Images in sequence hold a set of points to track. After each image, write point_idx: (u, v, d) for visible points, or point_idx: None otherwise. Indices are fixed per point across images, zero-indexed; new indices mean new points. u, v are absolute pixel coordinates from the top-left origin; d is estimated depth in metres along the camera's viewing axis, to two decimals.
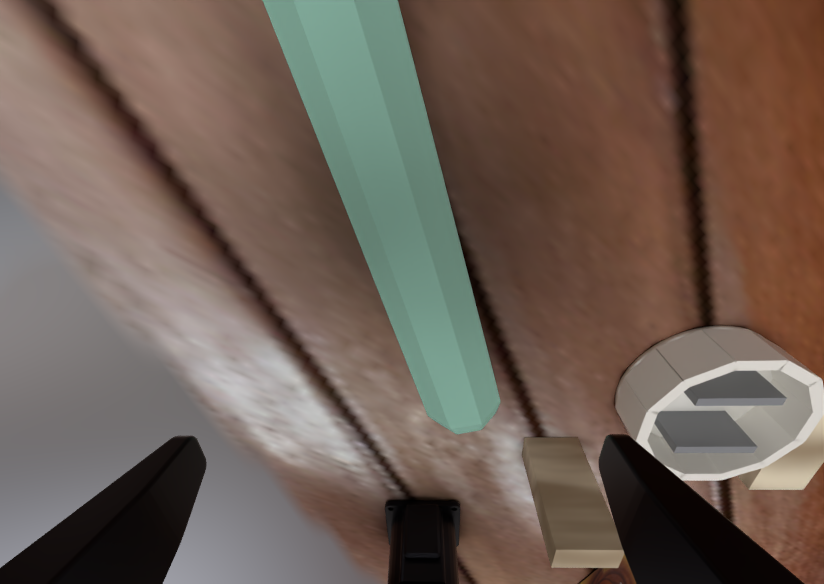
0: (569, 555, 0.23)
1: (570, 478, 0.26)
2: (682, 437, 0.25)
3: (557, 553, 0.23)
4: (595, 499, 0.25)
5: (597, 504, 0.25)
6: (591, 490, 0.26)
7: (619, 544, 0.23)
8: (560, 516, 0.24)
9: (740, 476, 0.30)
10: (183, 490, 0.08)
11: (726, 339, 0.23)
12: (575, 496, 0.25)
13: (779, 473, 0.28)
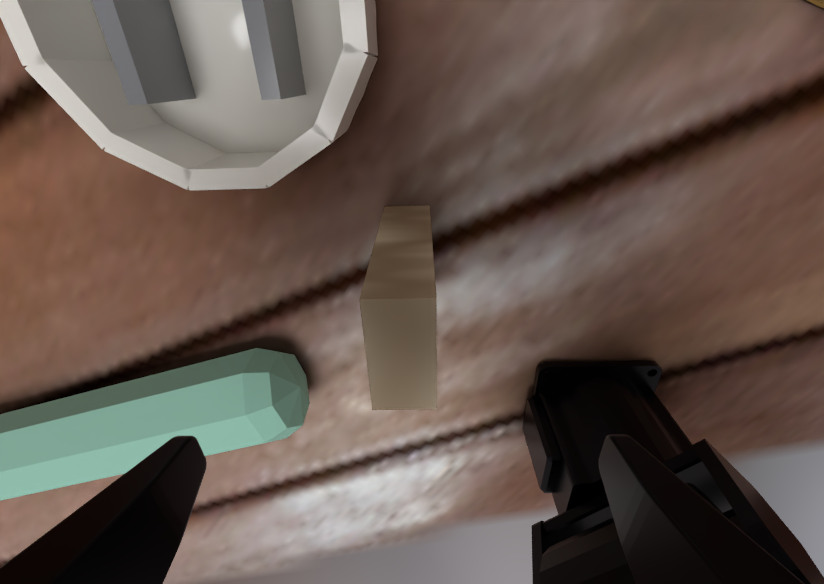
0: (391, 389, 0.12)
1: None
2: None
3: (386, 405, 0.12)
4: None
5: None
6: None
7: None
8: None
9: None
10: (183, 490, 0.08)
11: None
12: None
13: None
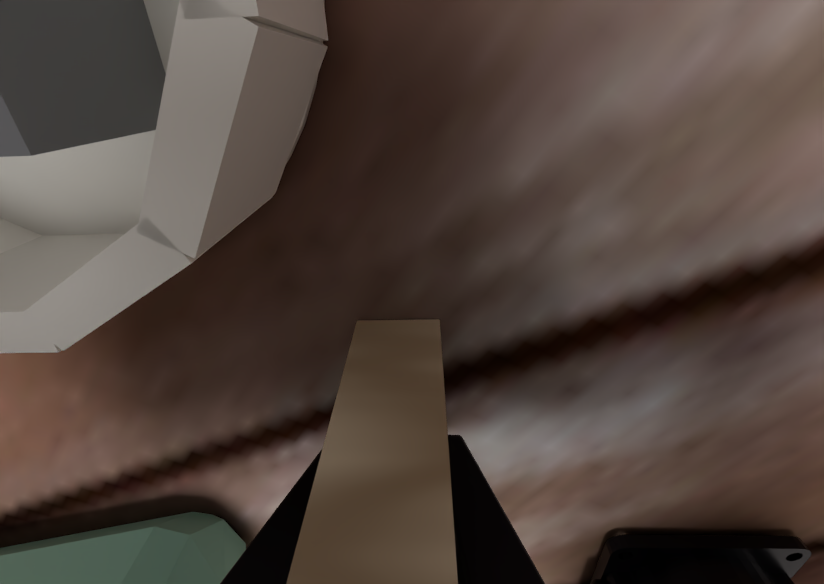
0: None
1: None
2: None
3: None
4: None
5: None
6: None
7: None
8: None
9: None
10: None
11: None
12: None
13: None
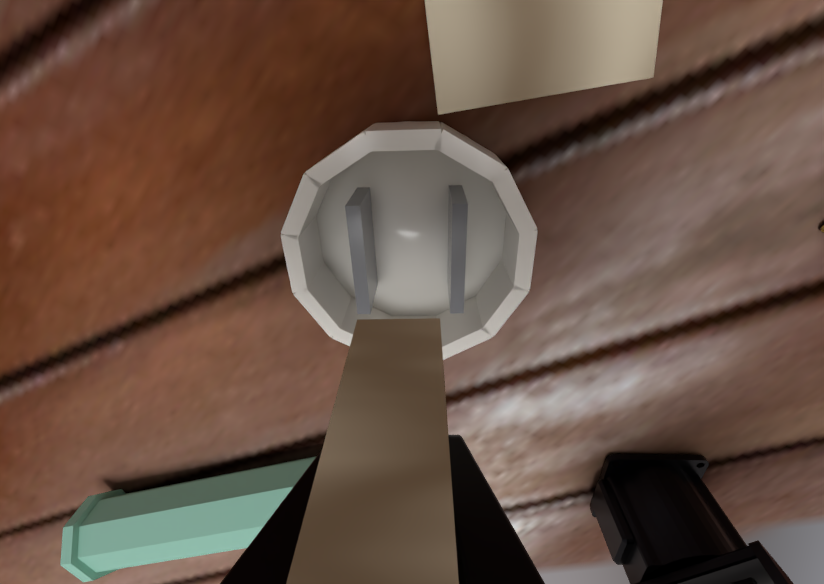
0: None
1: None
2: (449, 290, 0.18)
3: None
4: None
5: None
6: None
7: None
8: None
9: None
10: None
11: None
12: None
13: (601, 40, 0.14)
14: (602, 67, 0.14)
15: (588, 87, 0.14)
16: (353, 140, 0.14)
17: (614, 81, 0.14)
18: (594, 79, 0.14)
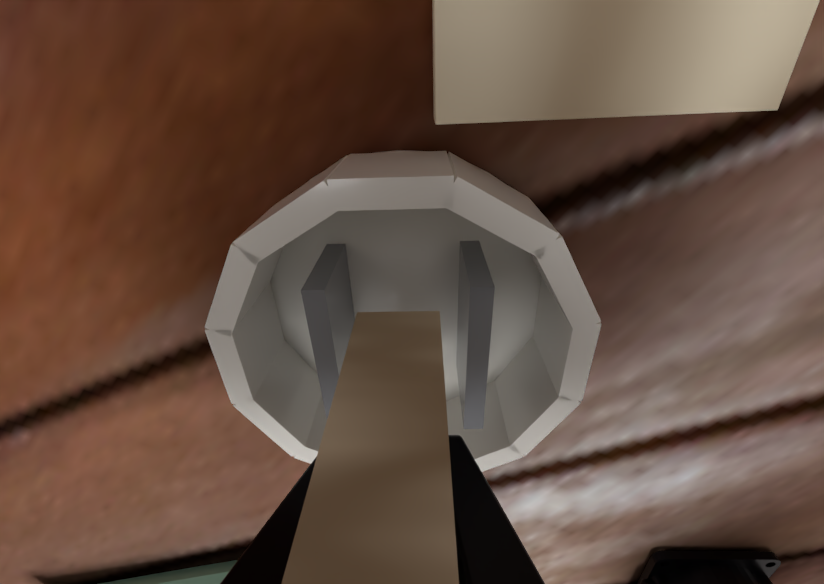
0: None
1: None
2: (462, 393, 0.12)
3: None
4: None
5: None
6: None
7: None
8: None
9: None
10: None
11: None
12: None
13: (713, 38, 0.08)
14: (705, 83, 0.09)
15: (676, 112, 0.09)
16: (307, 194, 0.08)
17: (718, 108, 0.09)
18: (688, 101, 0.09)
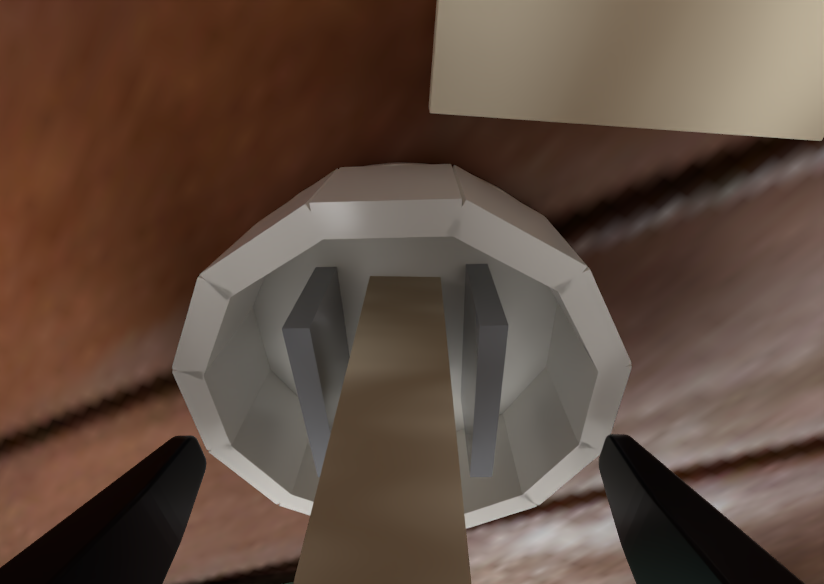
0: None
1: None
2: (468, 436, 0.11)
3: None
4: None
5: None
6: None
7: None
8: None
9: None
10: (183, 490, 0.08)
11: None
12: None
13: (764, 47, 0.07)
14: (746, 100, 0.08)
15: (709, 130, 0.08)
16: (286, 220, 0.07)
17: (756, 131, 0.08)
18: (725, 118, 0.08)
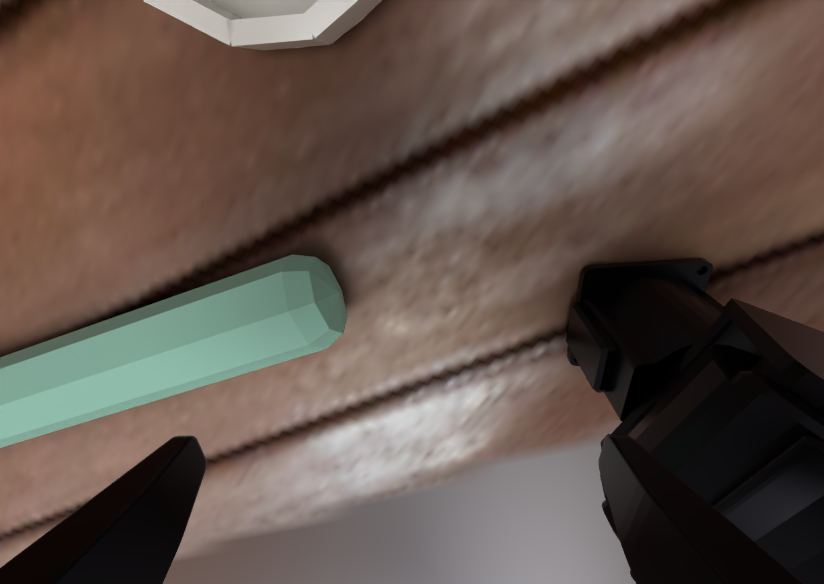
0: None
1: None
2: None
3: None
4: None
5: None
6: None
7: None
8: None
9: None
10: (183, 490, 0.08)
11: None
12: None
13: None
14: None
15: None
16: None
17: None
18: None
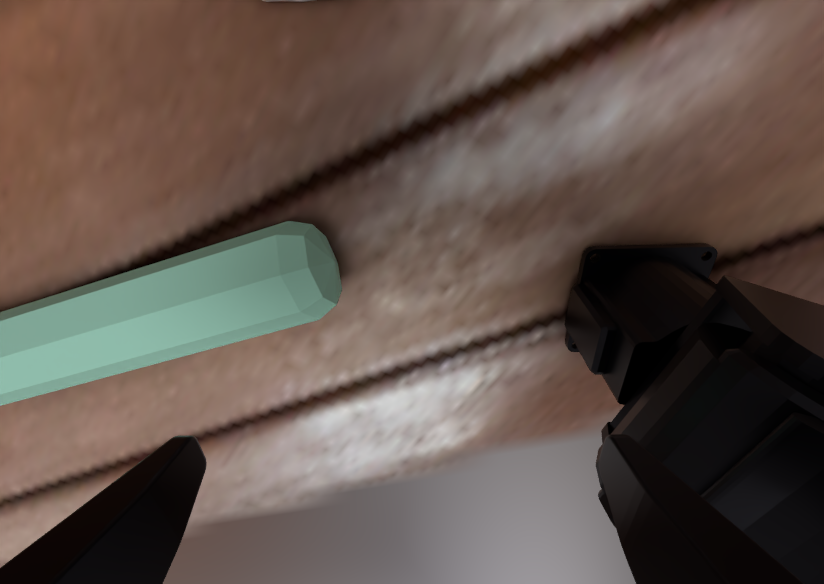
0: None
1: None
2: None
3: None
4: None
5: None
6: None
7: None
8: None
9: None
10: (183, 490, 0.08)
11: None
12: None
13: None
14: None
15: None
16: None
17: None
18: None
